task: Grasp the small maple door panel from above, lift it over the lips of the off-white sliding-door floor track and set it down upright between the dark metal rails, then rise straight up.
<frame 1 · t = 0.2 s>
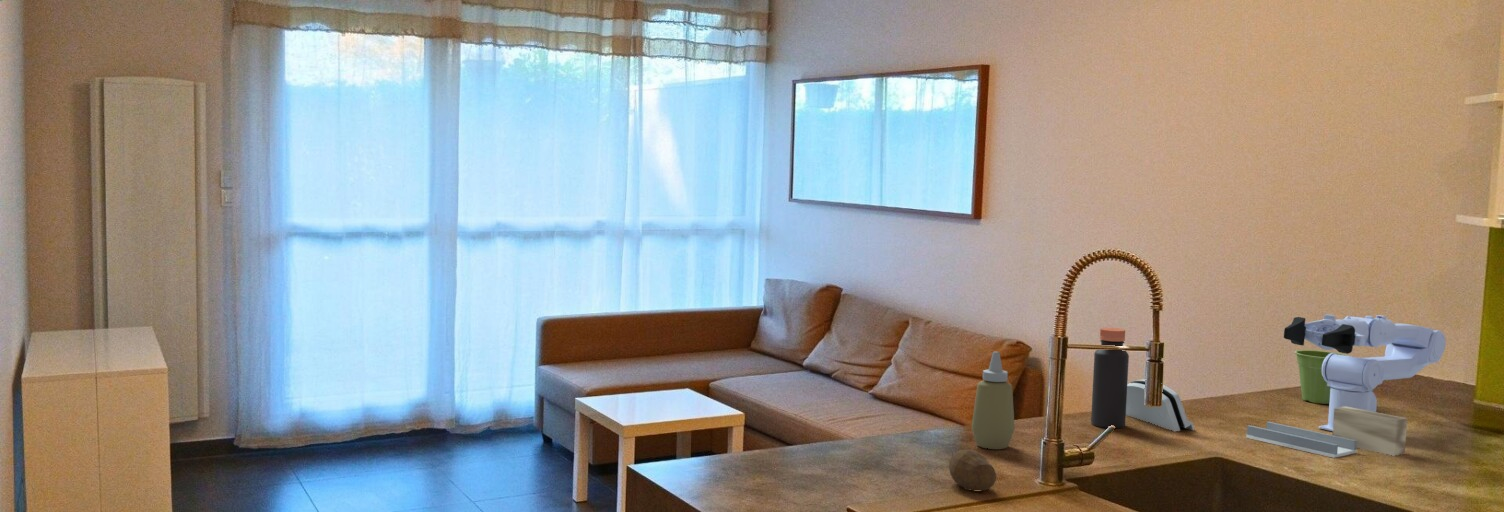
hand: (1304, 336, 226), 21 cm above the counter, tool horizontal, fingers open, 7 cm apart
squeeze bottle: (992, 447, 219), on the counter
potato: (969, 489, 190), on the counter
light blue curved block: (1153, 424, 243), on the counter
plant pot: (1319, 402, 270), on the counter
floor track: (1300, 445, 226), on the counter
door panel: (1367, 448, 225), on the counter
dark grey water bottle: (1107, 426, 239), on the counter
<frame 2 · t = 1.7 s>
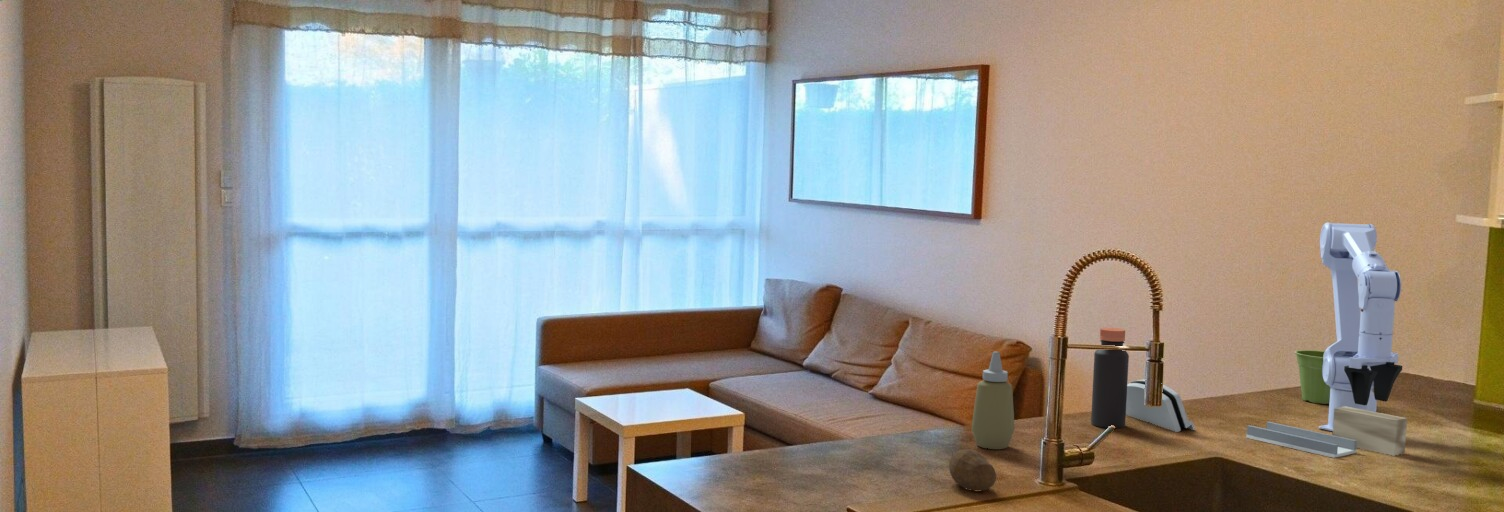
hand: (1371, 402, 224), 9 cm above the counter, tool pointing down, fingers open, 7 cm apart
nothing on the counter moved.
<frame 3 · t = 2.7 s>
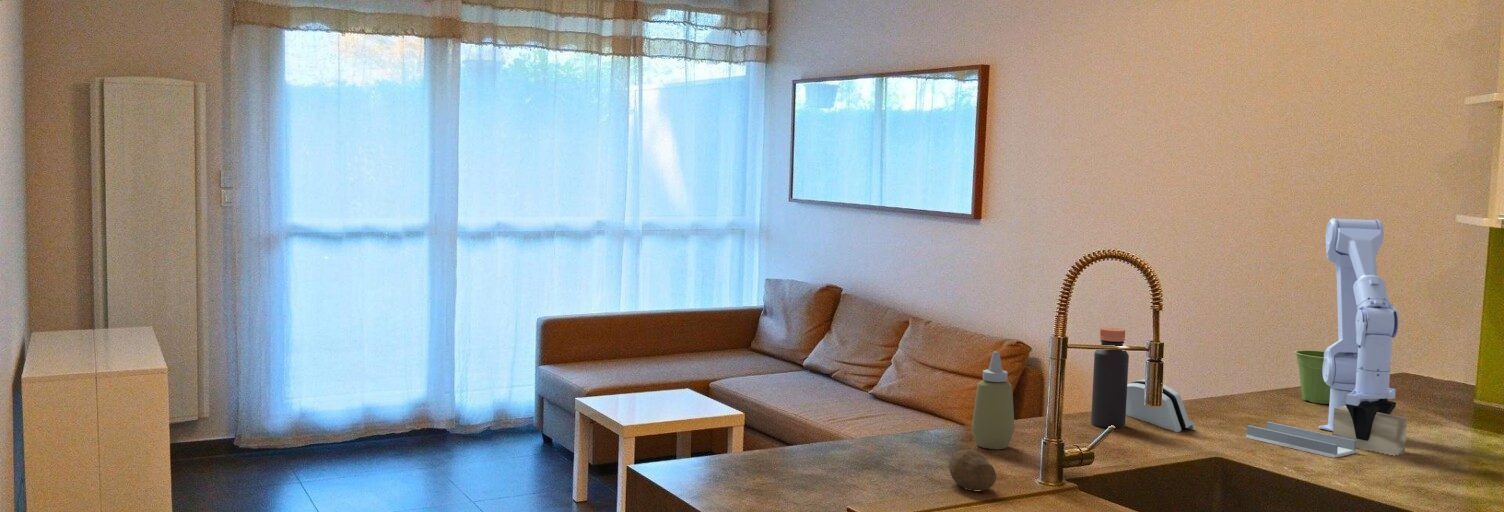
hand: (1368, 438, 225), 2 cm above the counter, tool pointing down, fingers closed on door panel, 4 cm apart
door panel: (1367, 448, 225), on the counter, touching gripper
everything else where it was.
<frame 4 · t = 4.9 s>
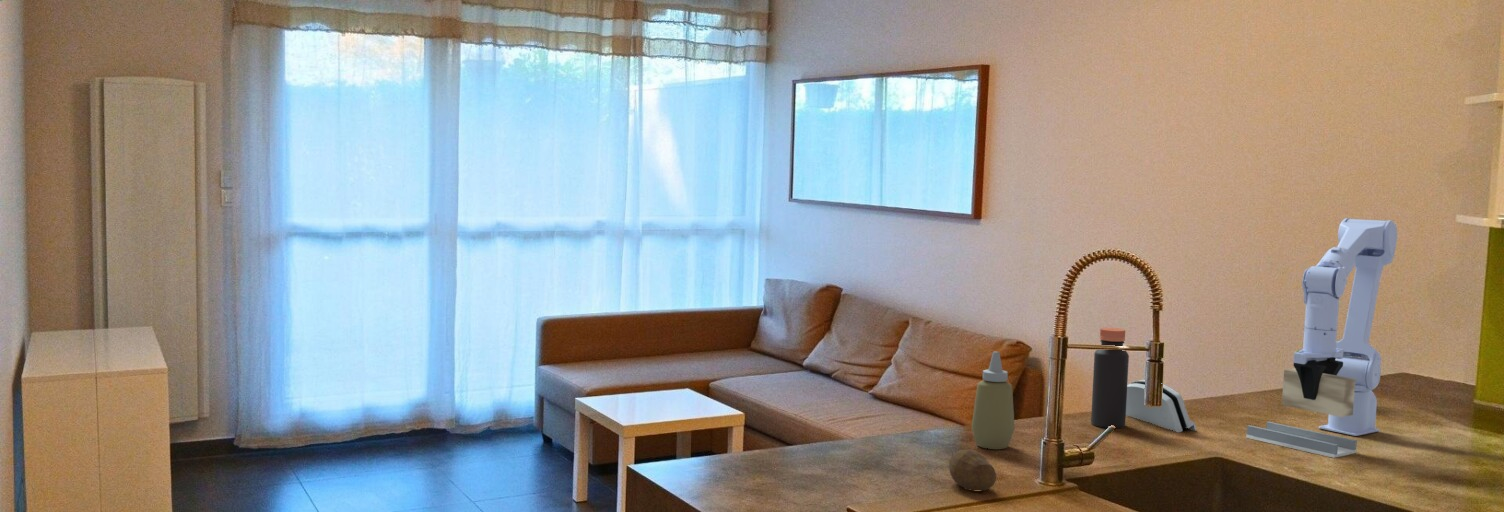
hand: (1315, 397, 225), 9 cm above the counter, tool pointing down, fingers closed on door panel, 4 cm apart
door panel: (1316, 409, 225), point 7 cm above the counter, touching gripper
everything else where it was.
when the fingers open (3 cm above the counter, at t = 6.9 s): door panel stays where it is, resting on floor track.
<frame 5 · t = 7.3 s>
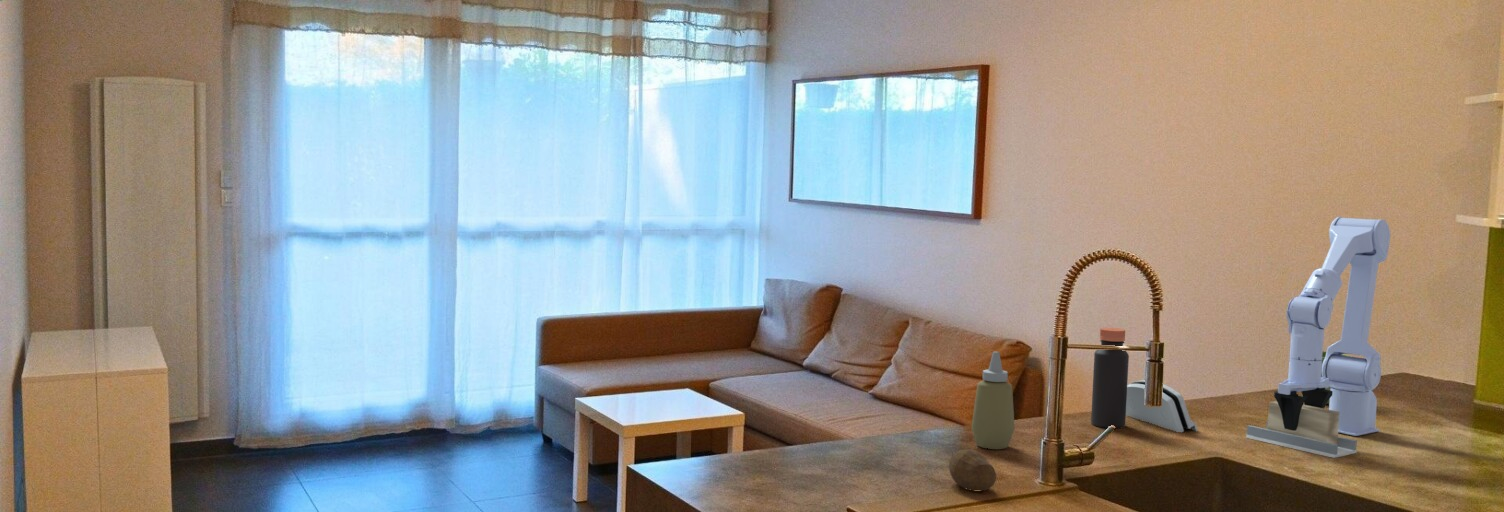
hand: (1301, 427, 226), 4 cm above the counter, tool pointing down, fingers open, 7 cm apart
door panel: (1301, 442, 226), point 1 cm above the counter, touching floor track
everything else where it was.
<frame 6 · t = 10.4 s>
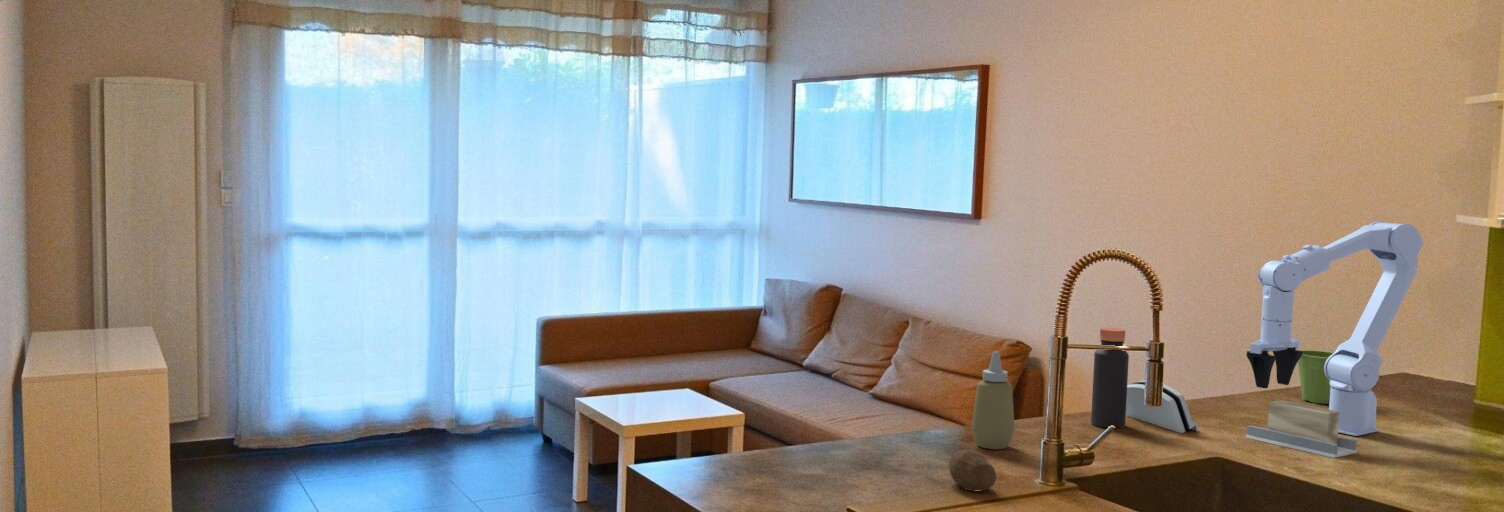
hand: (1272, 385, 237), 9 cm above the counter, tool pointing down, fingers open, 7 cm apart
at the end: door panel 0.2 cm from the target spot, point 0.6 cm above the counter; door panel tilted 0°; the gripper is holding nothing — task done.
